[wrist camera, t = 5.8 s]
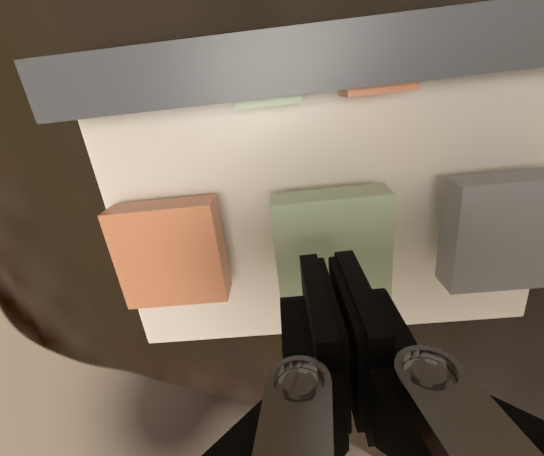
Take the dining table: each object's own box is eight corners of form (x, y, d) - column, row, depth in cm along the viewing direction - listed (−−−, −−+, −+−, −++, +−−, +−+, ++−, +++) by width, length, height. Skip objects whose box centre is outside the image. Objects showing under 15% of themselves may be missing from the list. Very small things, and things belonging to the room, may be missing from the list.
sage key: (383, 182, 14) (395, 194, 12) (381, 279, 15) (391, 299, 14) (270, 193, 14) (269, 205, 12) (281, 287, 16) (281, 307, 14)
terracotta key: (216, 193, 15) (209, 205, 13) (231, 283, 16) (228, 301, 15) (114, 203, 15) (97, 215, 14) (140, 290, 17) (128, 309, 15)
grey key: (564, 165, 13) (597, 174, 12) (540, 267, 15) (567, 285, 14) (444, 176, 13) (463, 187, 12) (435, 275, 15) (450, 294, 14)
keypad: (545, 11, 14) (671, -23, 10) (494, 289, 20) (560, 351, 15) (92, 67, 15) (13, 60, 11) (163, 314, 21) (130, 379, 16)
